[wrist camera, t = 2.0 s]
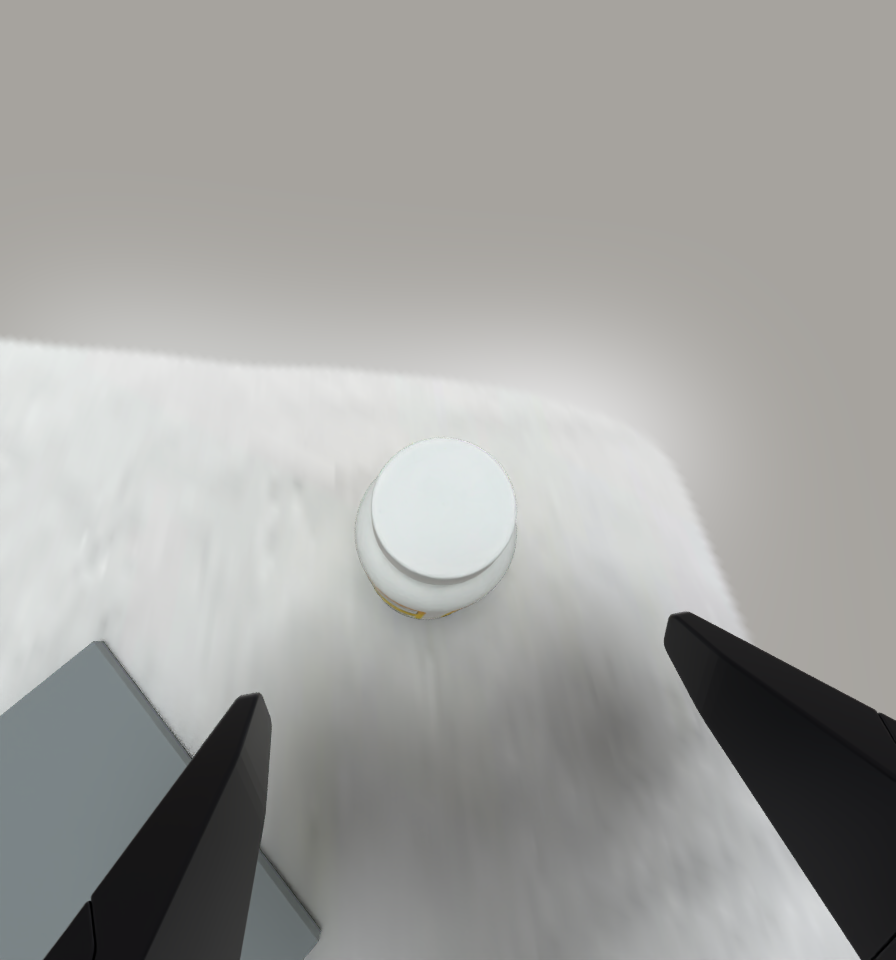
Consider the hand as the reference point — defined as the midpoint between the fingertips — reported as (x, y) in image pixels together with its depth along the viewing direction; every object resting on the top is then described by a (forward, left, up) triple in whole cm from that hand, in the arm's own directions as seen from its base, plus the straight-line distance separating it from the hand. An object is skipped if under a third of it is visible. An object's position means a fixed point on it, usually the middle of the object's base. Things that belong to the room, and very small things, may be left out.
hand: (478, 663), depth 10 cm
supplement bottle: (+3, -2, -11) cm, 12 cm away
